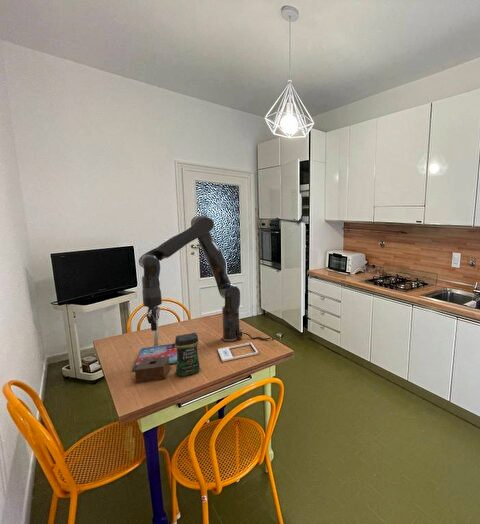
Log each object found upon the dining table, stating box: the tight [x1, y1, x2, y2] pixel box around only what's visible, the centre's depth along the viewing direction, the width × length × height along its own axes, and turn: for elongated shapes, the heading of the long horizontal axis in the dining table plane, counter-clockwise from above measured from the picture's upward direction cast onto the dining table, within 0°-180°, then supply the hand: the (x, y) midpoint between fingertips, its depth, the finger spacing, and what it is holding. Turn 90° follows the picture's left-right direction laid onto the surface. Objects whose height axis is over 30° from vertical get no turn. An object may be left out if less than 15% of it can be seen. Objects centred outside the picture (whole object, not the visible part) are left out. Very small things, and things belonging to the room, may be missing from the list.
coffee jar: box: [174, 332, 201, 377], centre depth 136 cm, size 10×8×19 cm
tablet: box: [132, 342, 177, 372], centre depth 152 cm, size 19×25×1 cm
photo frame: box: [217, 342, 259, 363], centre depth 158 cm, size 15×1×18 cm
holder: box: [134, 356, 171, 384], centre depth 134 cm, size 11×11×6 cm
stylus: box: [153, 319, 159, 347], centre depth 144 cm, size 2×2×14 cm
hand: (154, 329), depth 144 cm, fingers closed on stylus, 1 cm apart
